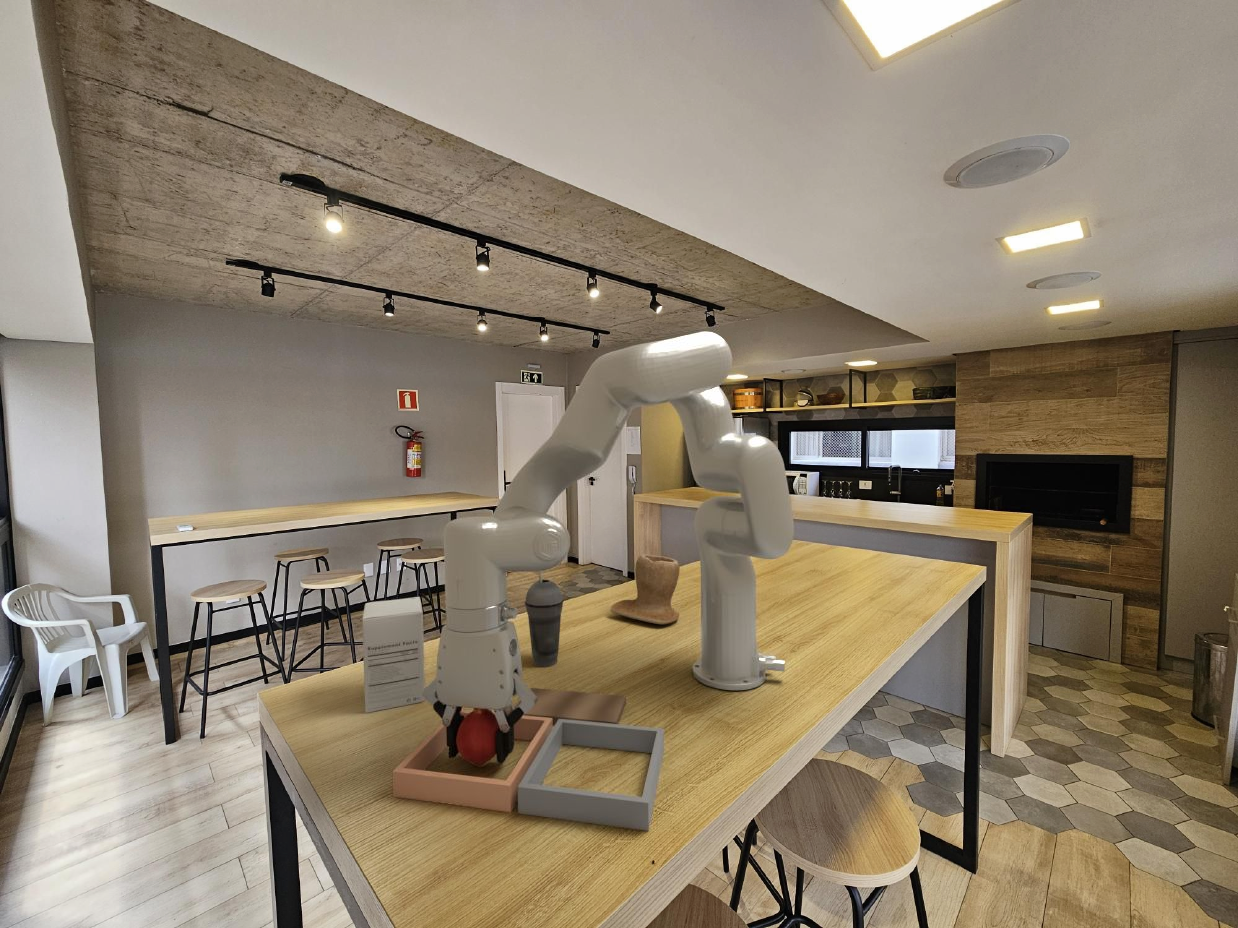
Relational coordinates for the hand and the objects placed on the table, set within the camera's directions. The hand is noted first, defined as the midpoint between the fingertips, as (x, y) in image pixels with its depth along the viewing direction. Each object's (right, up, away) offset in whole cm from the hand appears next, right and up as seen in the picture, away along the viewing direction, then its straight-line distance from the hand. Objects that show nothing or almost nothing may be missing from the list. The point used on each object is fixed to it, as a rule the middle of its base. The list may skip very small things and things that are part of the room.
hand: (480, 752), depth 66 cm
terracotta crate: (0, -2, 0) cm, 2 cm away
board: (+10, -1, +13) cm, 17 cm away
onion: (0, -2, 0) cm, 2 cm away
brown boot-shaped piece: (+25, 0, +56) cm, 61 cm away
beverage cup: (+4, -1, +32) cm, 32 cm away
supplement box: (-19, -1, +19) cm, 27 cm away
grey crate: (+15, -1, -3) cm, 15 cm away
